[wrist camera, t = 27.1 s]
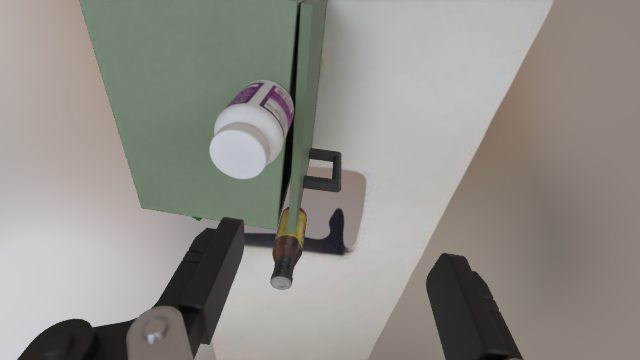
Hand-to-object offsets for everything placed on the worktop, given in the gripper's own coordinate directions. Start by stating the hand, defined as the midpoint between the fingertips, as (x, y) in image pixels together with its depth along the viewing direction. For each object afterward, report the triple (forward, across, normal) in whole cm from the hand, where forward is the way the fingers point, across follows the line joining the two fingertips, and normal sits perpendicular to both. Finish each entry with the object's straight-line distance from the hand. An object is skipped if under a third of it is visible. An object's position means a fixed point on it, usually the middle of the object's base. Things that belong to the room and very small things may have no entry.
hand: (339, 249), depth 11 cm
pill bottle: (+18, +7, +2) cm, 20 cm away
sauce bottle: (+42, +4, +38) cm, 57 cm away
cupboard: (+42, +14, +6) cm, 45 cm away
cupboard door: (+42, +1, +6) cm, 42 cm away
